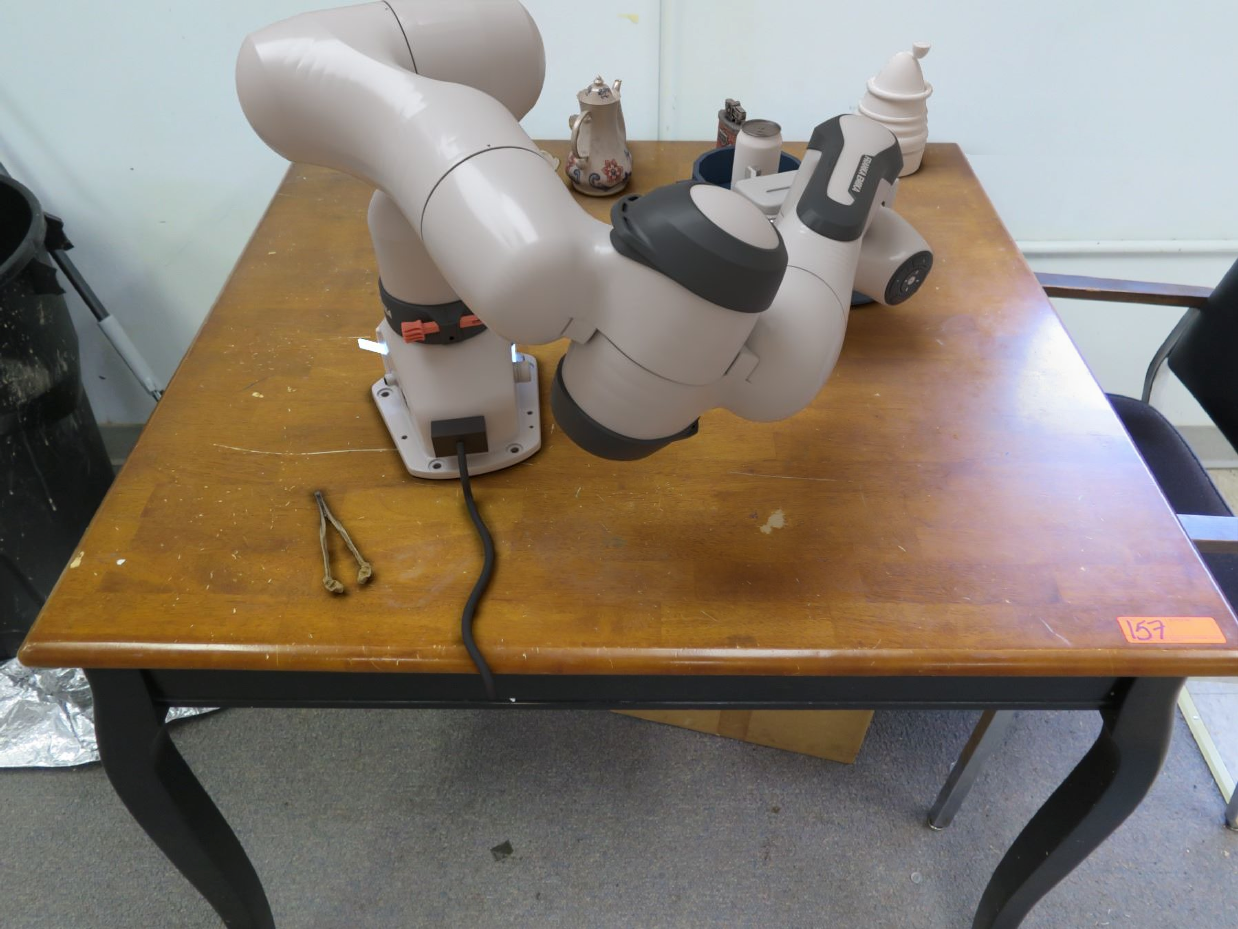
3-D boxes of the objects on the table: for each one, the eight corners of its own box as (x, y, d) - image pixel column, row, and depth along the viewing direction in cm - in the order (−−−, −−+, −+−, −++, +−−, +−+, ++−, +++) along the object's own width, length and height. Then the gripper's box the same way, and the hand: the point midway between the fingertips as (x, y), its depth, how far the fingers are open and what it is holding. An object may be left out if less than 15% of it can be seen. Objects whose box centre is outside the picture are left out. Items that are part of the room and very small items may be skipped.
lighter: (709, 156, 131) (715, 94, 124) (728, 153, 131) (735, 91, 124) (728, 177, 125) (735, 114, 118) (748, 174, 126) (756, 111, 119)
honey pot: (929, 154, 132) (964, 37, 119) (905, 184, 124) (939, 63, 111) (856, 136, 136) (881, 22, 123) (828, 164, 129) (852, 46, 116)
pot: (838, 225, 115) (846, 186, 111) (696, 247, 111) (700, 207, 106) (788, 174, 126) (794, 137, 122) (658, 192, 122) (659, 154, 117)
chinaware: (582, 144, 137) (569, 40, 126) (669, 153, 131) (664, 45, 119) (496, 216, 120) (472, 103, 108) (592, 231, 113) (578, 112, 102)
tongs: (329, 490, 78) (324, 477, 77) (378, 583, 71) (373, 571, 70) (287, 507, 77) (282, 494, 75) (333, 604, 70) (327, 592, 68)
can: (770, 197, 120) (782, 118, 111) (773, 218, 115) (786, 137, 107) (728, 196, 120) (737, 116, 111) (729, 217, 116) (738, 136, 107)
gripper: (757, 251, 97) (709, 200, 106) (897, 222, 102) (840, 176, 111) (764, 204, 92) (713, 154, 101) (910, 176, 97) (849, 131, 106)
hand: (780, 165), depth 106 cm, fingers open, 8 cm apart
